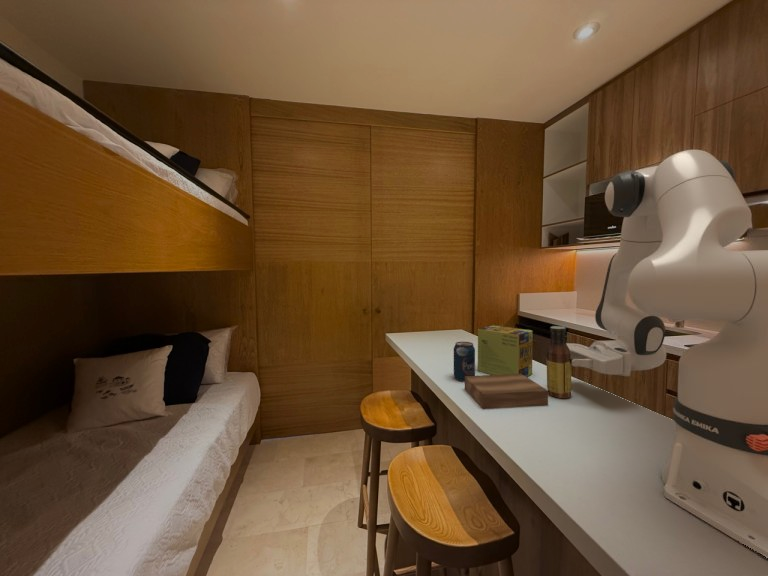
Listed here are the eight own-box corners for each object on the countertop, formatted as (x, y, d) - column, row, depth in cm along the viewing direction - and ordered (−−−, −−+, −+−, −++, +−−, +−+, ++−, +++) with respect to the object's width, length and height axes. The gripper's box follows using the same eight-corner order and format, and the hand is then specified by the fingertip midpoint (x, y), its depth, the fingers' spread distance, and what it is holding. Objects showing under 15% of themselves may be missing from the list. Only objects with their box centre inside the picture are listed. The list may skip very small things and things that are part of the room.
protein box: (519, 382, 103) (519, 334, 102) (476, 371, 115) (477, 328, 114) (533, 374, 110) (533, 330, 109) (492, 365, 122) (492, 324, 121)
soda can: (466, 384, 102) (467, 347, 101) (449, 378, 107) (449, 343, 107) (479, 378, 107) (479, 343, 106) (461, 374, 112) (461, 340, 111)
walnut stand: (548, 405, 86) (548, 390, 85) (483, 408, 84) (483, 393, 84) (520, 386, 99) (521, 373, 99) (464, 389, 98) (464, 376, 98)
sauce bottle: (565, 391, 95) (566, 325, 94) (575, 399, 89) (577, 329, 88) (542, 390, 96) (543, 325, 94) (551, 399, 89) (552, 329, 88)
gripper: (580, 337, 103) (539, 339, 102) (635, 354, 82) (585, 356, 81) (579, 357, 103) (539, 358, 102) (635, 378, 83) (585, 380, 82)
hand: (560, 357), depth 91 cm, fingers open, 8 cm apart
